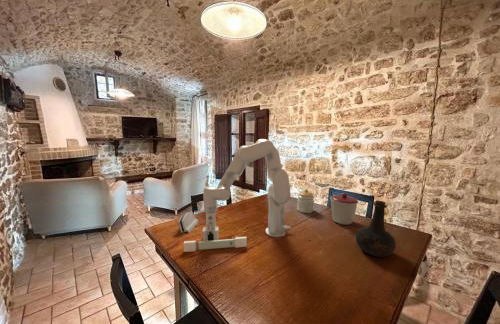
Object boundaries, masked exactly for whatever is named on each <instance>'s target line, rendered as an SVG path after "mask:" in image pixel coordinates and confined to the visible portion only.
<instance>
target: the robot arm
mask: <svg viewBox="0 0 500 324" xmlns="http://www.w3.org/2000/svg"><path fill="white" fill-rule="evenodd" d="M234 154H235V155H234V156H233V158H232V160H231V161H230V164H229V166H228V168H227V169H226V171H225V172H224V174H223V175H222V177H221V179H220V181H219V183H218V184H217V187H215V186H211V185H210V186H206V187H204V188H203V191H202V194H203V195H202V196H203V212H204V213H205V222H206V227H207V229H208V241H211V240H214V233H213V229H215V228H216V227H217V226H216V224H217V223H216V212H217V211H218V201H221V202H224V201H228V200H229V199H230V198H231V196H232V195H231V189H230V188H231V187H232V185H233V183H234V182H235V181H236V180H237V178H239V177H241V175H242V174H243V172H244V171H245V169H246V166H247V164H248V163H251V162H254V161H256V160H257V161H258V160H260V159H262V158H264V159H265V163H266V170H267V171H266V172H267V178H268V179H269V181H270V182H272V183H271V184H270V185H269V187H268V189H267V196H268V213H267V214H268V217H267V218H268V221H267V227H266V228H265V233H266V235H267V236H270V237H272V238H282V237H284V236H285V235H286V231H290V230H292V228H291V226H288V225H287V224H286V225H284V223H285V222H284V221H285V220H284V217H285V204H286V203H288V202H289V201H290V199H291V188H290V178H289V174H288V173H287V171H286V170H285V169H283V168H282V162H281V157H280V153H279V151H278V149H277V147H276V146H275V145H274V143H273V142H272V141H271V140H270V139H265V138H260V139H257V140H256V142H255V143H253V144H251V145H241V146H240V147H239V148H238V149H237V151H236V152H235V153H234Z"/></svg>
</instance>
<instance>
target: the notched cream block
mask: <svg viewBox="0 0 500 324" xmlns="http://www.w3.org/2000/svg"><path fill="white" fill-rule="evenodd" d="M234 239H235V247H234V248H235V249H236V248H244V247H245V248H247V246H248V245H247V240H248V239H247V236H235V238H234ZM196 241H197V240H187V241H185V240H184V241H183V252H184V253H188V252H196V251H197V250H196Z"/></svg>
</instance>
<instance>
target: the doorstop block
mask: <svg viewBox="0 0 500 324" xmlns="http://www.w3.org/2000/svg"><path fill="white" fill-rule="evenodd" d="M219 230H220V229H219V226H216V228H215V229H213V233H214V240H220V239H219V237H220V236H219V235H220V234H219ZM202 241H208V229H207V226H205V227H203V228H202ZM211 241H212V240H211Z"/></svg>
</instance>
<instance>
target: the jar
mask: <svg viewBox="0 0 500 324" xmlns="http://www.w3.org/2000/svg"><path fill="white" fill-rule="evenodd" d="M314 198H315V195H314V192H312V191H310V190H308V188H305V189H304V190H300V191H299V192H298V195H297V206H296V208H297V211H299V212H300V213H304V214H311V213H313V212H314V210H315V209H314V206H315V200H314Z"/></svg>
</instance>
